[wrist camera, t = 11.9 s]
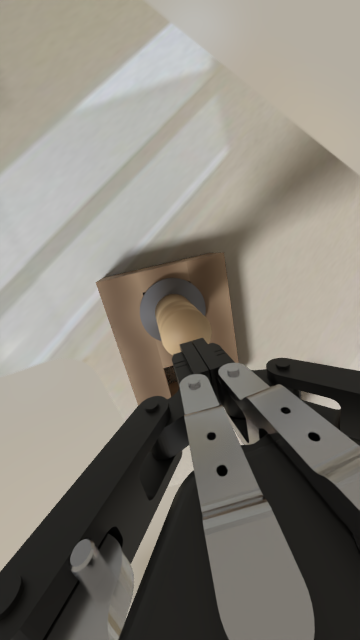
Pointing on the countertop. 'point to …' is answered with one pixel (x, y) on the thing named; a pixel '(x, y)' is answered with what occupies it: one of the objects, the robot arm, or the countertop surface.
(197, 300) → the oak peg
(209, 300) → the walnut board
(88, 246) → the countertop surface
